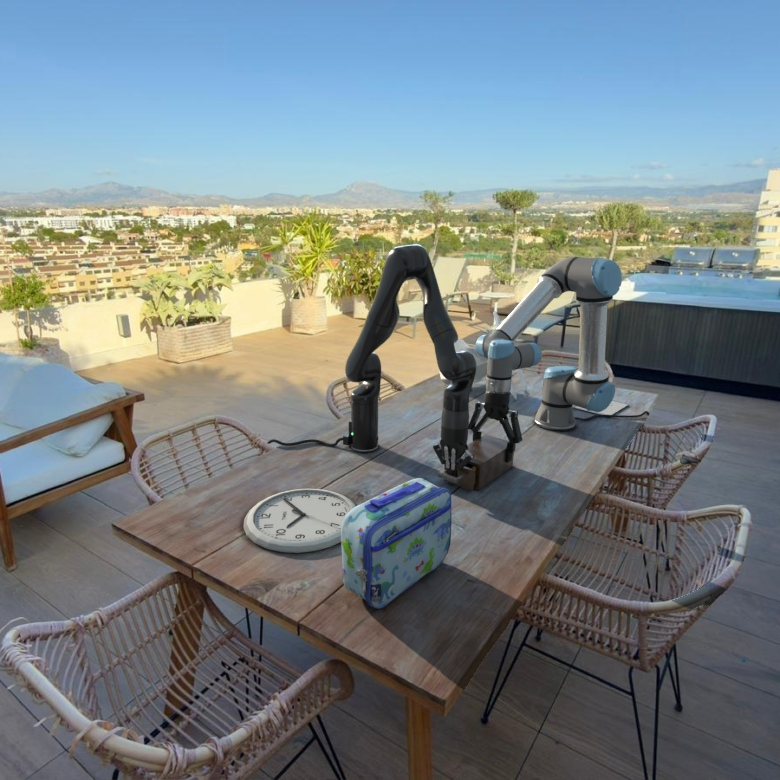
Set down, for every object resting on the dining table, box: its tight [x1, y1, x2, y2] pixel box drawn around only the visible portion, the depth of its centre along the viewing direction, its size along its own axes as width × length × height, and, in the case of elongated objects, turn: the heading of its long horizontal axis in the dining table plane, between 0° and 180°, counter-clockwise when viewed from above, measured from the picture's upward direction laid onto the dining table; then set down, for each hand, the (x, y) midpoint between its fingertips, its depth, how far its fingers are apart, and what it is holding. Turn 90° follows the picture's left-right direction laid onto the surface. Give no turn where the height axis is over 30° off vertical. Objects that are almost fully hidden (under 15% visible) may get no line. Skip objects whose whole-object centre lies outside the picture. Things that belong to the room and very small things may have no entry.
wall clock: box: [243, 488, 357, 554], centre depth 136 cm, size 30×2×30 cm
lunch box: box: [340, 477, 452, 610], centre depth 110 cm, size 26×11×21 cm, turn 134°
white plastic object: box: [438, 310, 531, 400], centre depth 245 cm, size 37×45×31 cm
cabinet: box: [460, 433, 515, 491], centre depth 162 cm, size 22×11×8 cm, turn 140°
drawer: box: [436, 461, 477, 491], centre depth 157 cm, size 26×10×6 cm, turn 140°
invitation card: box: [573, 400, 629, 415], centre depth 226 cm, size 21×1×15 cm
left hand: (451, 479), depth 150 cm, fingers closed
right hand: (492, 456), depth 167 cm, fingers closed on cabinet, 11 cm apart
